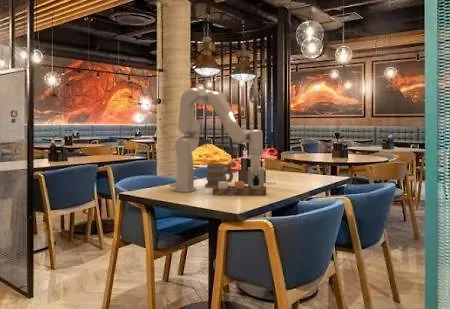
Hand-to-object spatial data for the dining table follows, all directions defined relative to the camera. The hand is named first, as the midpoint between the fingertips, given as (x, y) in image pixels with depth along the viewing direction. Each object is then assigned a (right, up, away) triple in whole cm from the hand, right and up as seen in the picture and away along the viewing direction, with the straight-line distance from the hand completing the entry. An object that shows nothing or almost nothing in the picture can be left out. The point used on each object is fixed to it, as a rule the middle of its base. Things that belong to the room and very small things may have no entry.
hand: (256, 185), depth 226 cm
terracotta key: (-9, -3, +1) cm, 10 cm away
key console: (-9, -5, +1) cm, 10 cm away
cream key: (-18, -3, +2) cm, 18 cm away
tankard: (-19, -3, +28) cm, 34 cm away
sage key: (0, -5, 0) cm, 5 cm away
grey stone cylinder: (+1, -3, +18) cm, 19 cm away
